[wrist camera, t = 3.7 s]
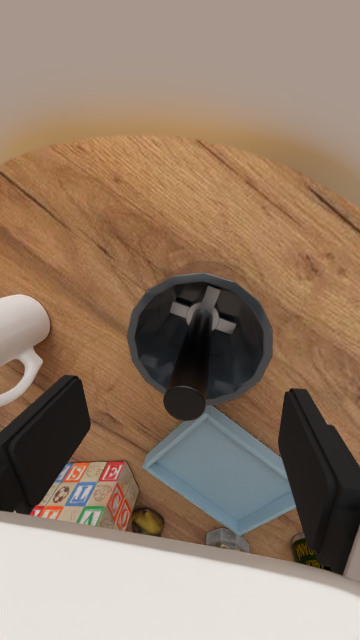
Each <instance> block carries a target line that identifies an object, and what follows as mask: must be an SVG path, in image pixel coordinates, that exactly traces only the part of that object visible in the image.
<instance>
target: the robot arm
mask: <svg viewBox="0 0 360 640" xmlns="http://www.w3.org/2000/svg"><path fill="white" fill-rule="evenodd" d="M90 425H91V422H90V417H89V413H88V408H87V404H86V399H85V394H84V390H83V385H82V381H81V380H80V379H79V378H78V376H72V375H64V376H63V377H61V378H60V379H59V380H58V381H57V382H56V383H55V384H54V385H52V386H51V387H50V388H49V389H48V390H47V391H46V392H45V393H43V394H42V395H41V396H40V397H39V398H38V399H37V400H36V401H35V402H33V403H32V404H31V405H30V406H29V407H28V408H27V409H26V410H24V411H23V412H22V413H21V414H20V415H19V416H18V417H17V418H15V419H14V420H13V421H12V422H11V423H10V424H9V425H8V426H7V427H5V428H4V429H3V430H2V431H1V432H0V640H360V467H359V465H358V464H357V462H356V460H355V459H354V457H353V456H352V454H351V452H350V451H349V449H348V448H347V446H346V444H345V443H344V441H343V440H342V438H341V436H340V435H339V433H338V432H337V430H336V429H335V427H334V426H332V425H327V423H326V422H325V420H324V418H323V417H322V415H321V413H320V412H319V410H318V408H317V406H316V405H315V403H314V401H313V400H312V398H311V396H310V395H309V393H308V391H307V390H306V389H294V388H291V389H290V391H289V392H285V396H284V403H283V410H282V417H281V424H280V431H279V439H278V446H279V451H280V454H281V457H282V461H283V464H284V468H285V471H286V474H287V478H288V481H289V485H290V488H291V491H292V495H293V498H294V501H295V505H296V508H297V512H298V515H299V518H300V522H301V525H302V529H303V532H304V535H305V539H306V542H307V545H308V547H309V549H310V550H312V551H315V554H316V557H317V560H318V563H319V565H321V566H327V567H331V570H332V572H330V571H328V570H324V569H320V568H316V567H312V566H308V565H304V564H300V563H296V562H291V561H286V560H281V559H276V558H271V557H266V556H261V555H256V554H251V553H246V552H241V551H235V550H230V549H224V548H218V547H213V546H207V545H201V544H196V543H190V542H184V541H179V540H173V539H167V538H162V537H156V536H150V535H144V534H138V533H133V532H127V531H121V530H115V529H109V528H103V527H97V526H92V525H86V524H80V523H74V522H68V521H62V520H55V519H49V518H43V517H37V516H31V515H30V513H31V512H32V510H33V509H34V507H35V506H37V505H39V504H40V503H41V501H42V500H43V498H44V497H45V495H46V494H47V492H48V491H49V489H50V488H51V486H52V485H53V483H54V482H55V480H56V479H57V477H58V476H59V474H60V473H61V471H62V470H63V468H64V467H65V466H66V464H67V463H68V461H69V460H70V458H71V457H72V455H73V454H74V452H75V451H76V449H77V448H78V446H79V445H80V443H81V442H82V440H83V439H84V437H85V436H86V434H87V433H88V431H89V429H90ZM14 511H16V513H13V512H14Z"/></svg>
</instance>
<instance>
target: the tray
mask: <svg viewBox="0 0 360 640" xmlns="http://www.w3.org/2000/svg"><path fill="white" fill-rule="evenodd" d="M142 468H143V469H144V470H146V471H147V472H149V473H150V474H152V475H153V476H154V477H156V478H157V479H159V480H160V481H161V482H163V483H164V484H166V485H167V486H169V487H170V488H171V489H173V490H174V491H176V492H177V493H178V494H180V495H181V496H183V497H184V498H186V499H187V500H188V501H190V502H191V503H193V504H194V505H195V506H197V507H198V508H200V509H201V510H203V511H204V512H205V513H207V514H208V515H210V516H211V517H212V518H214V519H215V520H217V521H218V522H220V523H221V524H222V525H224V526H225V527H227V528H228V529H229V530H231V531H232V532H234V533H235V534H237V535H238V536H241V535H243V534H245V533H247V532H249V531H251V530H253V529H255V528H257V527H259V526H261V525H263V524H265V523H267V522H269V521H271V520H273V519H274V518H276V517H278V516H280V515H282V514H284V513H286V512H288V511H290V510H292V509H294V508H296V505H295V501H294V498H293V495H292V491H291V488H290V485H289V481H288V478H287V474H286V471H285V468H284V464H283V461H282V458H281V457H279V456H278V455H277V454H275V453H274V452H273V451H271V450H270V449H269V448H267V447H266V446H265V445H264V444H262V443H261V442H260V441H258V440H257V439H256V438H254V437H253V436H252V435H250V434H249V433H248V432H247V431H245V430H244V429H243V428H241V427H240V426H239V425H237V424H236V423H235V422H233V421H232V420H231V419H229V418H228V417H227V416H226V415H224V414H223V413H222V412H220V411H219V410H218V409H216V408H215V407H214V406H212V405H206V408H205V411H204V413H203V414H202V415H201V416H200V417H199V418H197V419H195V420H191V421H184V422H182V423H181V424H180V425H179V426H178V427H177V428H176V429H175V430H173V431H172V432H171V433H170V434H169V435H168V436H167V437H166V438H164V439H163V440H162V441H161V442H160V443H159V444H158V445H157V446H156V447H154V448H153V449H152V450H151V451H150V452H149V453H148V454H147V455H146V457H145V460H144V463H143V466H142Z"/></svg>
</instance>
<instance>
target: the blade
mask: <svg viewBox="0 0 360 640" xmlns="http://www.w3.org/2000/svg"><path fill="white" fill-rule="evenodd" d="M220 291H221V289H218V288H215V287H212V286H209V285H208V287H207V290H206V292H205V295H204V298H203V299H200V300H196V301H195V302H193V303H192V304H191V305H190V306H187V305H185V304H182V303H179V302H176V301H173V303H172V306H171V309H170V313H173V314H175V315H178V316H181V317H184V318H186V321H187V324H188V326H189V327H188V329H187V332H186V335H185V338H184V341H183V344H182V346H181V349H180V352H179V355H178V358H177V361H176V363H175V366H174V369H173V372H172V375H171V378H170V380H169V383H168V386H167V389H166V392H165V395H164V398H163V403H164V406H165V409H166V410H167V412H168V413H169V414H170V415H171V416H173V417H174V418H176V419H179V420H183V421H191V420H195V419H197V418H199V417H200V416H201V415H202V414H203V413H204V411H205V408H206V398H207V386H208V374H209V362H210V350H211V338H212V331H213V330H214V329H217V330H220V331H223V332H225V333H228V334H231V335H232V333H233V331H234V329H235V327H236V325H237V323H235V322H232V321H229V320H226V319H224V318H221V317H220V314H219V309H218V307H217V306H216V301H217V298H218V296H219V293H220Z"/></svg>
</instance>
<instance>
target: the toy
mask: <svg viewBox="0 0 360 640" xmlns="http://www.w3.org/2000/svg"><path fill="white" fill-rule="evenodd" d="M130 522H131V527H132V531H133V533H138V534H144V535H150V536H156V537H161V532H163V525H164V521H163V518H162V517H161V516H159V514H156V513H155V512H154V511H151V510H149V509H145V510H142V509H140V510H137V511H134V512H133V513H132V515H131V518H130Z"/></svg>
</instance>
